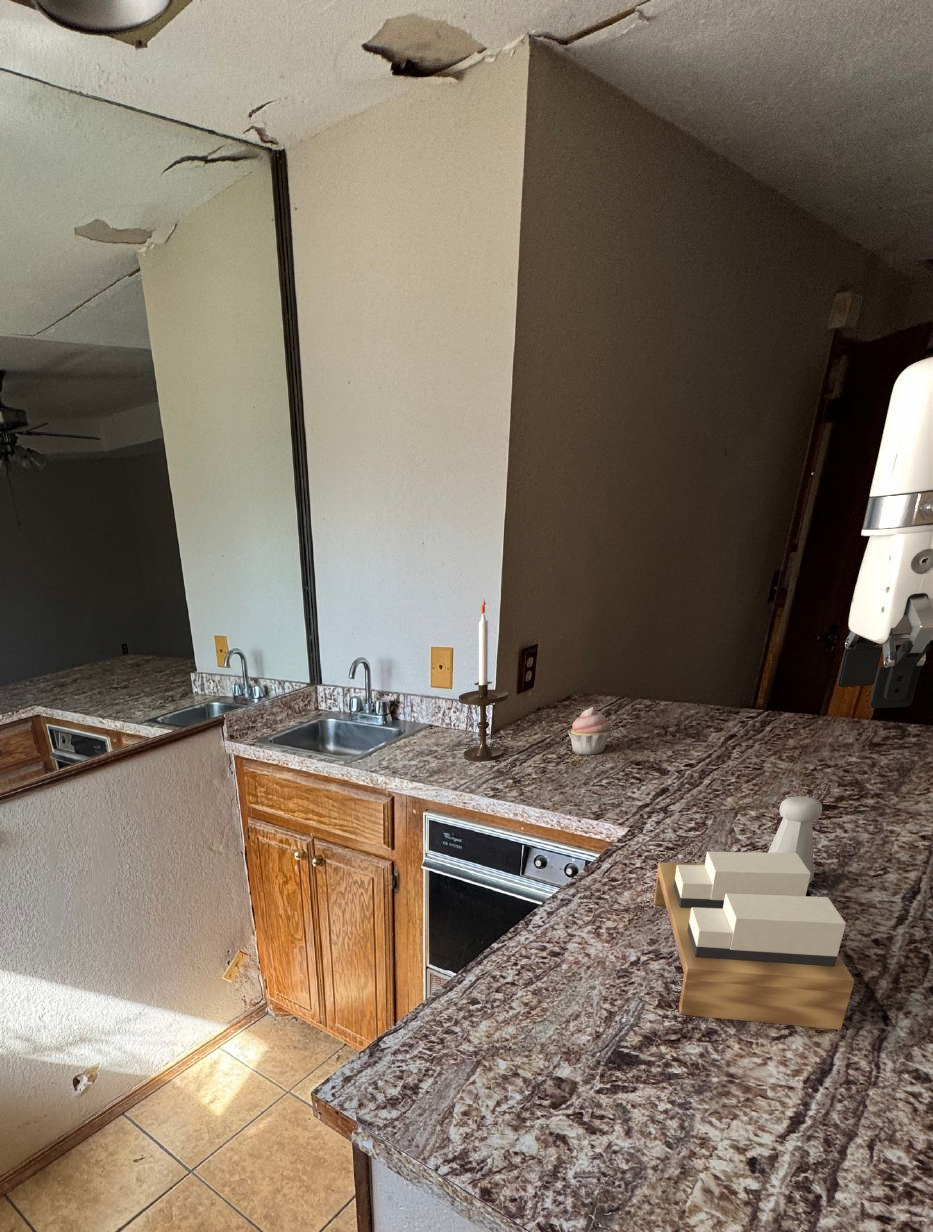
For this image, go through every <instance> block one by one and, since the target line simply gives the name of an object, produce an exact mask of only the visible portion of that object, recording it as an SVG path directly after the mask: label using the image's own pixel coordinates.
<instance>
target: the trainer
mask: <svg viewBox="0 0 933 1232" xmlns="http://www.w3.org/2000/svg"><path fill="white" fill-rule="evenodd" d="M704 862H705V863H704V864H705V865H677V867H676V874H675V880H674V890H675V893H676V896H677V900H678V903H679V907H680V908H692V907H695V908H718V909H723V905H724V900H725V894H726V893H729V894H756V895H783V896H807V892H808V888H809V884H810V883H809V880H810V876H811V873H810V872H809V870H808V869H807V867H806V866H805V864H804V863H803V861H802V860H801V858H800V857H799V855H798V854H797V853H768V852H761V851H760V852H752V851H706V855H705V861H704Z"/></svg>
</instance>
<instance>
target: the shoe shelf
mask: <svg viewBox="0 0 933 1232" xmlns="http://www.w3.org/2000/svg"><path fill="white" fill-rule="evenodd" d="M677 865H705V863H702V862H701V863H697V862H693V863H692V862H662V861H661V862H658V863H657V871H656V880H655V886H654V894H653V904H654V906H662V907H663V906H664V907H665V908H666V910H667V914H668V918H669V923H670V925H671V929H672V934H673V937H674V941H675V944H676V945H675V946H676V949H677V952H678V956H679V960H680V965H681V967H682V971H683V978H682V984H681V990H680V996H679V1004H678V1011H679V1015H680V1016H681V1015H682V1016H690V1017H700V1018H701V1017H702V1018H711V1019H712V1018H713V1019H722V1020H723V1019H724V1020H733V1021H744V1022H753V1023H762V1024H763V1023H765V1024H774V1025H784V1026H785V1025H786V1026H796V1027H805V1028H806V1027H807V1028H817V1029H825V1030H827V1029H828V1030H836V1031H837V1030H838V1031H841V1030H842V1027H843V1023H844V1020H845V1016H846V1012H847V1009H848V1006H849V1004H850V1003H849V1002H850V999H851V995H852V992H853V989H854V985H855V982H856V981H855V978H854V977H853V976H852V973H851V972H850V971H849V969H848V967H847V966H846V964H845V963H844V961H843V959H842V957H841V956H840V954H839V953H838V956H837V959H836V962H835V966H819V965H804V964H789V963H775V962H760V961H745V960H730V959H716V958H701V957H695V954H694V951H693V948H692V944H691V941H690V938H689V934H688V924H689V920H690V913H691V908H680V907H679V903H678V900H677V896H676V893H675V890H674V880H675V874H676V867H677Z"/></svg>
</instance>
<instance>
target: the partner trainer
mask: <svg viewBox="0 0 933 1232" xmlns="http://www.w3.org/2000/svg"><path fill="white" fill-rule="evenodd" d="M846 925H847V923H846V921H845V920H844V918H843V917H842V915H841V914H840V912H839V911H838V910H837V908H836V907H835V905H834V903H833V902H832V900H831V899H830V898H829V897H828V896H810V895H809V896H807V895H806V896H783V895H756V894H729V893H726V894H725V900H724V905H723V909H718V908H695V907H692V908H691V913H690V920H689V924H688V934H689V938H690V941H691V944H692V948H693V951H694V954H695V957H701V958H716V959H730V960H745V961H760V962H775V963H789V964H804V965H819V966H835V962H836V959H837V956H838V954H839V952H840V947H841V945H842V941H843V937H844V934H845V930H846Z"/></svg>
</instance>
